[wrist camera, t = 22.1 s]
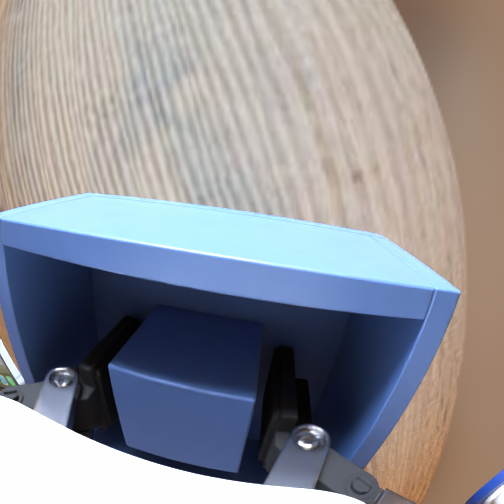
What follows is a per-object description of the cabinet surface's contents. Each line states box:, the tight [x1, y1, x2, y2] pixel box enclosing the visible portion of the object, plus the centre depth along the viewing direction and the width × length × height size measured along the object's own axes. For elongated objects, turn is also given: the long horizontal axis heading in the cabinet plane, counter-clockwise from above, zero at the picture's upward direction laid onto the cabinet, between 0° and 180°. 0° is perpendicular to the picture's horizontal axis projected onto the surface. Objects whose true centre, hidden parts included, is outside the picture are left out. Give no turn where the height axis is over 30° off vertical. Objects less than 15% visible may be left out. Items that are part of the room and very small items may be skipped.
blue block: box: [108, 304, 263, 473], centre depth 10 cm, size 4×4×4 cm
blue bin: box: [0, 193, 460, 485], centre depth 10 cm, size 13×13×6 cm
